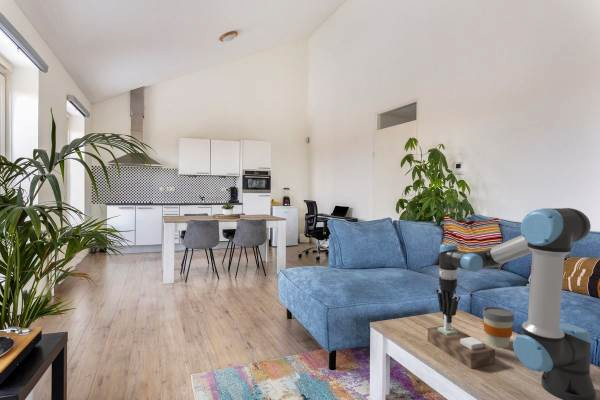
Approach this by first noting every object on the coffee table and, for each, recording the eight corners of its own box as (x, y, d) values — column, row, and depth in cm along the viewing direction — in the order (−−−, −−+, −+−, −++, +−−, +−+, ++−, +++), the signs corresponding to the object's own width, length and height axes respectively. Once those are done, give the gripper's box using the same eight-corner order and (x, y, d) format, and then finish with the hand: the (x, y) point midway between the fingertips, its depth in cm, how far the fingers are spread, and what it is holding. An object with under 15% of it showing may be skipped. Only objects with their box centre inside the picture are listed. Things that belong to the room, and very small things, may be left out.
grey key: (482, 354, 139) (483, 342, 139) (471, 357, 138) (471, 345, 138) (471, 348, 145) (471, 336, 145) (460, 350, 143) (460, 338, 143)
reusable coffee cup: (501, 352, 148) (501, 318, 147) (476, 340, 159) (476, 308, 159) (519, 346, 153) (520, 313, 152) (494, 335, 164) (494, 305, 164)
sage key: (457, 342, 153) (457, 331, 153) (446, 344, 151) (446, 332, 151) (448, 336, 159) (448, 326, 158) (437, 338, 157) (437, 327, 157)
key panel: (494, 363, 138) (494, 349, 137) (471, 368, 134) (471, 353, 134) (448, 337, 162) (448, 325, 162) (427, 340, 159) (427, 328, 159)
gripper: (431, 274, 159) (430, 324, 160) (451, 282, 147) (450, 335, 147) (444, 273, 161) (444, 322, 162) (465, 280, 149) (464, 333, 150)
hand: (447, 328), depth 155 cm, fingers closed
